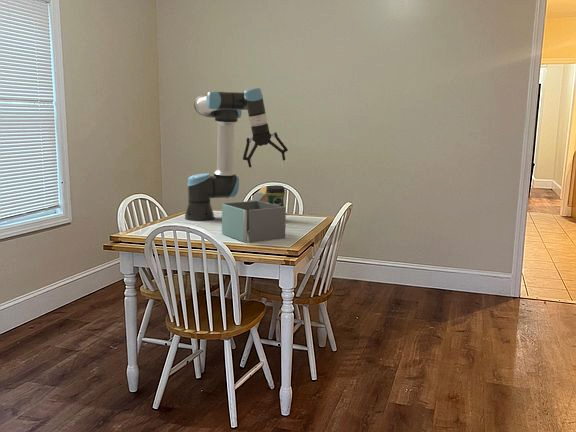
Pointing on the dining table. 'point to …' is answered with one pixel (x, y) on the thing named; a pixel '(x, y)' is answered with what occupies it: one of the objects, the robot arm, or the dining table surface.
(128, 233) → the dining table surface
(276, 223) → the charcoal box
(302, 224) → the dining table surface
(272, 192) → the coffee jar
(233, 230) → the side door
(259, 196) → the sandwich container
